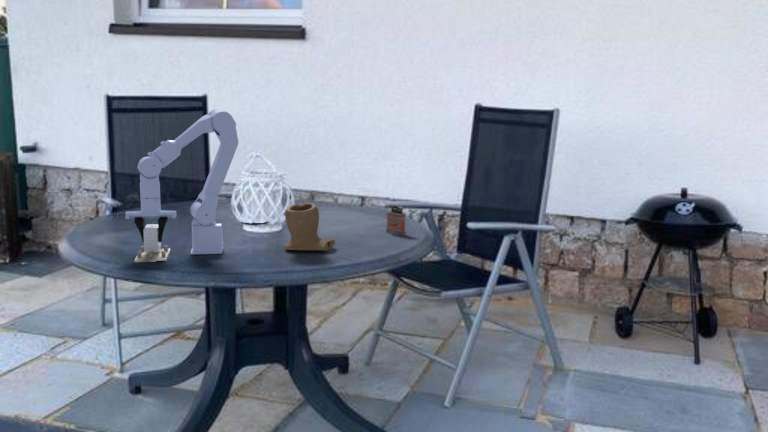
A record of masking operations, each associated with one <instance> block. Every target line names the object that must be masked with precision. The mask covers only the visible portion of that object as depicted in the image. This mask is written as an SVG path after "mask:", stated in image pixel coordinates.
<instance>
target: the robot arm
mask: <svg viewBox="0 0 768 432" xmlns="http://www.w3.org/2000/svg"><path fill="white" fill-rule="evenodd" d="M210 133H215V135H216V137H217V139H218V140H219V142H220V144H219V147H218V149H217V152H216V154H215V156H214V160H213V162H212V165H211V168H210V169H209V173H208V175H207V177H206V180H205V183H204V185H203V188H202V190H201V192H199V194H198V196H197V198H196V200H195V201H194V202H193V203H192V204H191V206H190V207H189V208H190V209H189V210H190V215H191V216H192V218H193V219H192V221H191V242H192V243H191V244H192V245H191V251H190V254H189V255H218V254H219V255H220V254H223V250H224V249H223V248H224V246H225V245H224V244H225V242H224V241H223V240H224V238H223V223H221V222H219V223H217V222H216V218H217V207H218V204H219V194H220V193H221V189H222V188H223V185H224V182H225V179H226V177H227V175H228V173H229V172H228V171H229V169H230V167H231V164H232V161H233V158H234V155H235V154H236V151H237V149H238V145H239V138H238V133H237V122H236V120H235V119H234V117H233V116H232V114H230V113H229V112H228V111H224V110H221V109H213V110H211V111H209V113H207V114H204V115H203V116H201V117H200V118H199V119H197V120H196V121H195V122H194V123H193V124H191V125H190V126H189V127H188V128H186V130H184V131H183V133H181V134H180V135H179V136H177V137H176V138H175V139H174V140H172V139H171V140H170V139H167V140H162V141H161V142H160V146H157V148H155V149H154V150H152V152H151V151H149V152H147V155H148V156H144V157H142V158H141V159H139V161H138V163H137V171H138V172H139V180H140V182H139V192H140V193H139V195H140V196H139V197H140V210H134V211H133V210H132V211H125V220H130V219H134V224H135V226H136V228H137V229H138V232H139V234H140V237H141V241H142V243H143V244H144V233H143V229H144V228H145V226H146V219H157V223H158V226H159V242H161V243H162V242H163V235H164V231H165V227H166V226H167V225H166V224H167V221H168V219H177V210H163V209H162V207H161V205H162V203H161V182H160V174H161V172H162V169H163V168H166V167H167V166H168V165H170V164H171V163H172V162H173V161H175V160H176V159H177V158H178V157H180V156H181V151H182V149H183V148H185V147H186V146H188V145H189V144H190V143H192V142H193V141H194V140H196V139H197V138H198V137H200V136H201V135H203V134H210Z"/></svg>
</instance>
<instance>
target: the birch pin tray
mask: <svg viewBox="0 0 768 432" xmlns="http://www.w3.org/2000/svg"><path fill="white" fill-rule="evenodd" d="M139 249H140V250H139V251H137V253H136V256H135V259H134V261H133V262H134V263H154V262H155V263H157V262H156V261H165V262H167V260H168V258H169V255H170V252H171V251H172V250H171V248H170V247H169V245H164V246H163V248H160V250H159V251H158V252H144V245H142V246H140V248H139ZM170 250H171V251H170ZM167 257H168V258H167Z"/></svg>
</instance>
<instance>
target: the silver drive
mask: <svg viewBox="0 0 768 432" xmlns="http://www.w3.org/2000/svg"><path fill="white" fill-rule="evenodd" d="M143 233H144V243H143V246H144V252H158V251H159V250H160V249H162V248H161V247H162V242H159V226H158V224H157V223H156V224H153V223H151V224H150V223H148V224H145V228H144V229H143Z"/></svg>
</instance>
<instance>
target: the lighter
mask: <svg viewBox="0 0 768 432" xmlns="http://www.w3.org/2000/svg"><path fill="white" fill-rule="evenodd" d="M388 209H391V210H386V213H385V214H386V230H385V232H386V233H387V234H391V235H394V236H395V235H396V236H406V215H407V213H406V212H403V211H404V207H403V206H400V204H397V205H395V204H392V203H390V204H389V203H388Z"/></svg>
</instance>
